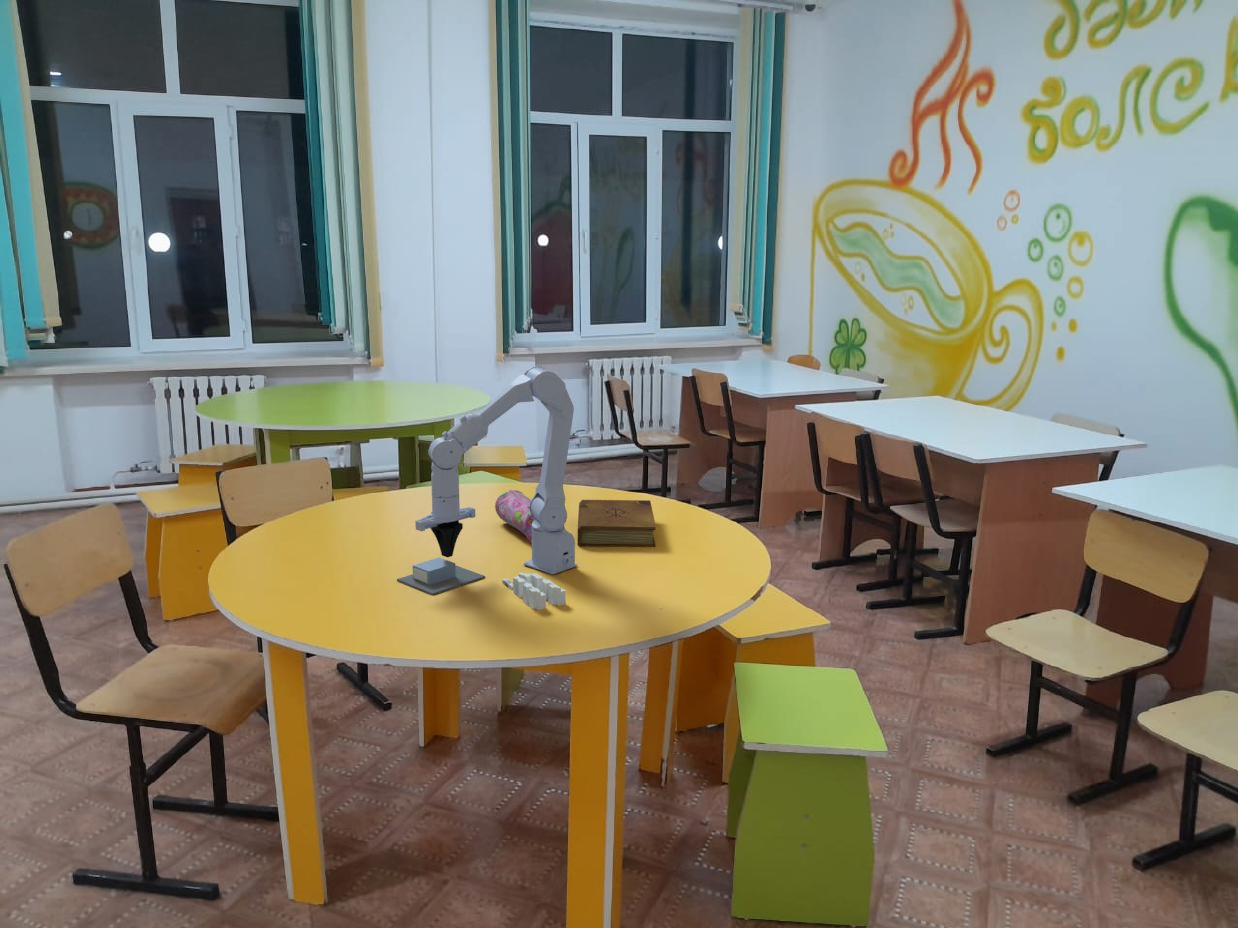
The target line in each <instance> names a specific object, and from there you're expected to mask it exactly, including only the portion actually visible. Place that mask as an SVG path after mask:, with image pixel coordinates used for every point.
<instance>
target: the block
mask: <svg viewBox="0 0 1238 928" xmlns="http://www.w3.org/2000/svg"><path fill="white" fill-rule="evenodd" d="M455 565H456V563H455V562H453V561H451V560H447V559H444V558H441V557H437V558H436V557H435V558H432V559H429V560H426V561H422V562H419V563H416V564H413V565H412V574H413V579H415V580H417V581H420V582H423V583H425V584H428V585H431V584H434V583H437V582H441V581H444V580H447V579H450V578H453V577H456V567H455Z"/></svg>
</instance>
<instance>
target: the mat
mask: <svg viewBox="0 0 1238 928" xmlns="http://www.w3.org/2000/svg"><path fill="white" fill-rule="evenodd" d="M455 567H456V577H453V578H450V579H447V580H444V581H441V582H437V583H434V584H431V585H428V584H425V583H423V582H420V581H417V580H415V579H413V573H412V574H410V575H406V576H402V577H399V578H397V579H396V581H397V582H399V583H400V584H404V585H406V586H409V587H412V588H413V589H416V590H419V591H421V592H424V593H425V594H429V595H431V596H435V595H438V594H440V593H444V592H446V591H449V590H452V589H455V588H459V587H462V586H464V585H467V584H470V583H474V582H476V581H480V580H482V579H486V576H485V575H484V574H481V573H478V572H476V571H473V570H470V569H467V568H464V567H461V566H458V565H456V564H455Z"/></svg>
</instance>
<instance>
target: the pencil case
mask: <svg viewBox="0 0 1238 928" xmlns="http://www.w3.org/2000/svg"><path fill="white" fill-rule="evenodd" d="M531 500H532V499H530V498H529V497H527V496H526V495H525V494H524V493H523V492H522V491H519V490H517V489H516V490H515V489H509V490H508V491H506V492H504V493H501V494H500V495H499V496H498V498H497V499H496V500H495V503H494V504H495V506H494V507H495V512H496V514H497V516H498V517H499V519H501V520H502V521H503V522H504V523H506V524H508V526H511V527H513V528H514V529H517V530H518V531H519V532H521V533H522V534H523V535H525V536H526V538H527V540H528V541H529V542H530V543H532V523H533V521H534V517H533V516H532V514H531V513H530V509H529V505H530V502H531Z"/></svg>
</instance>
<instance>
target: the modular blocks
mask: <svg viewBox="0 0 1238 928" xmlns="http://www.w3.org/2000/svg"><path fill="white" fill-rule="evenodd" d="M512 579H513V582H512V581H511V580H510V579H508V578H507V577H506V578H502V579H501V581H502V584H503V585H505V586H506V587H508V589H509V590H513V594H514V595H517V597H518V598H519V599H520V598H522V601H523V603H524V604H525V605H528V607H529V608H530V609H532V610H535V609H536V610H538V611H540V610H546V609H547V608H546V607H547V605H546V603H547V601H548V604H550V605H552V606H555V605H557V606H558V607H560V606H564V605H565V606H566V602H567V601H566V600H567V599H566V596H567V595H566V594H567V593H566V592H567V591H566V589H564V588H562V587H560V586H559V585H557V584H556V583H554V582H552V580H550V579H546V578H544V577H543V576H541V575H539V574H537V573H536V572H533V573H531V572H530V573H525V572H518V575H516V576H513V577H512Z"/></svg>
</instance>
